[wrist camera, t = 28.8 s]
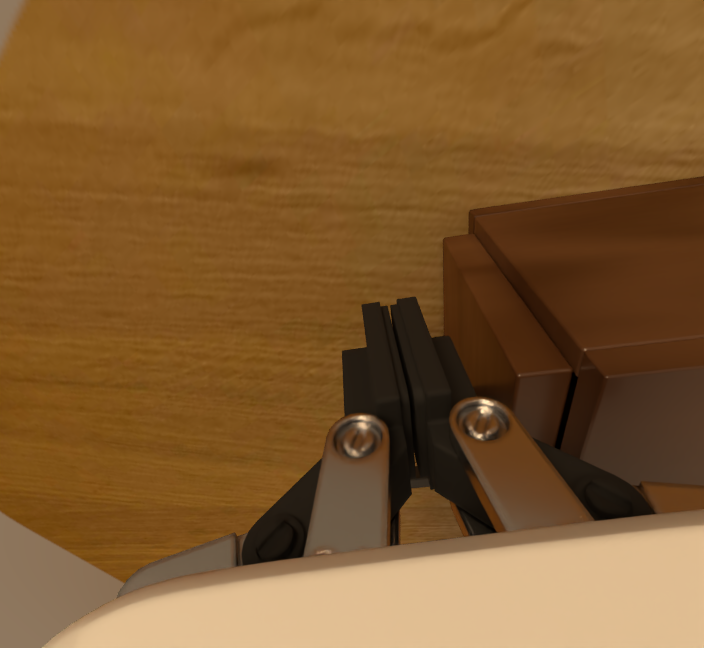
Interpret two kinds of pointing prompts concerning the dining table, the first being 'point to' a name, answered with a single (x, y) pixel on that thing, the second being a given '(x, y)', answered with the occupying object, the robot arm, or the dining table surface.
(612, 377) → the cabinet
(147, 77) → the dining table surface
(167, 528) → the dining table surface
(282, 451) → the dining table surface
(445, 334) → the drawer
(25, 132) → the dining table surface
